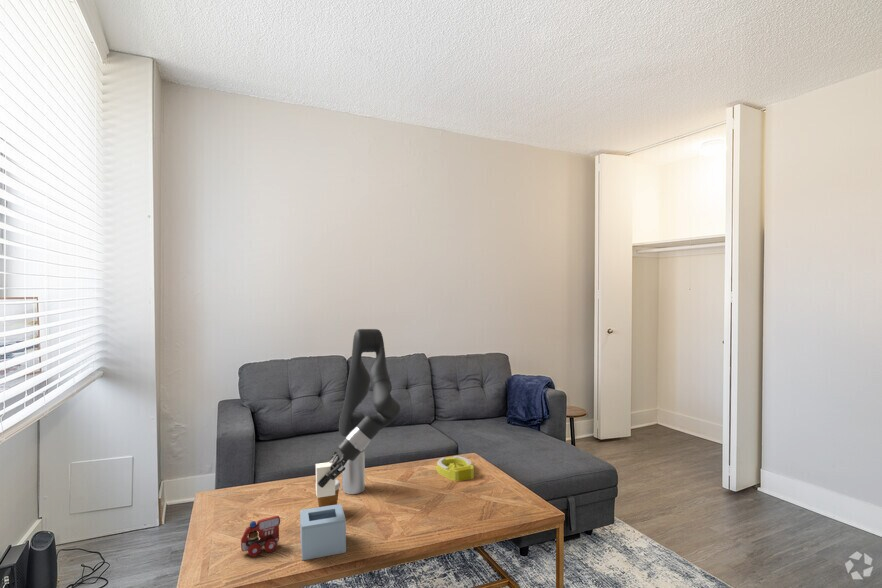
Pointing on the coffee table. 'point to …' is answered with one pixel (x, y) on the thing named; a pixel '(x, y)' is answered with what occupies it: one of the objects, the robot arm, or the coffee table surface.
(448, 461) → the yellow low hollow piece
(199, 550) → the coffee table surface
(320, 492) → the block
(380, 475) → the coffee table surface
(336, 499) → the disposable coffee cup
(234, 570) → the coffee table surface
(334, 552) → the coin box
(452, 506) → the coffee table surface
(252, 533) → the toy fire truck
